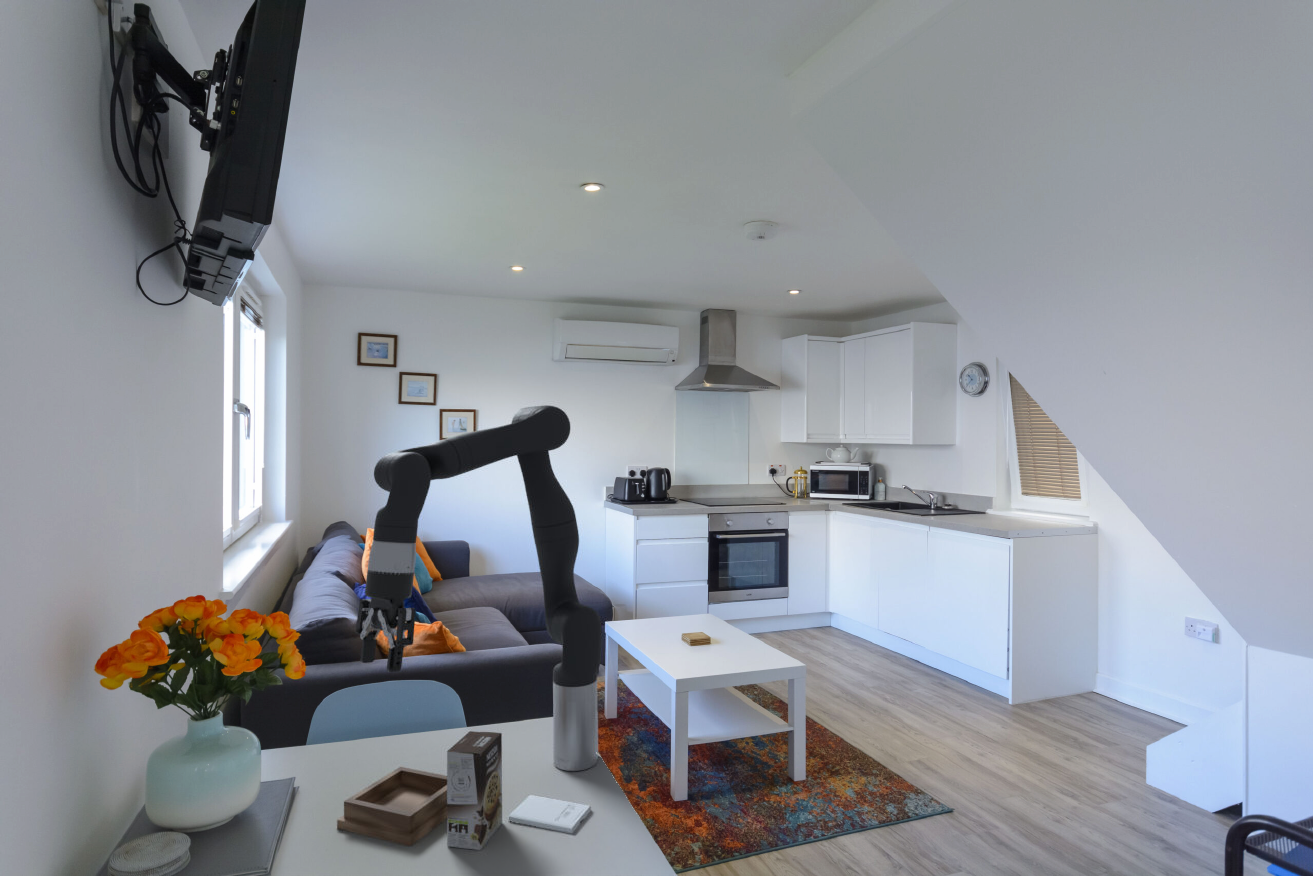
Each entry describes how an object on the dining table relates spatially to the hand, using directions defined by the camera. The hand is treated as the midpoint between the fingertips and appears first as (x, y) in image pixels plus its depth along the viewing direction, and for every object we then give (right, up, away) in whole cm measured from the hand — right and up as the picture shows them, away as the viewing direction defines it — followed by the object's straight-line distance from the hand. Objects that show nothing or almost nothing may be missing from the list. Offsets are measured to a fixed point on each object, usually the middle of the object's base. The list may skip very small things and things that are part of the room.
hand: (379, 666), depth 123 cm
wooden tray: (+1, -30, +10) cm, 32 cm away
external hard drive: (+27, -31, +10) cm, 42 cm away
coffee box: (+15, -30, +4) cm, 34 cm away
